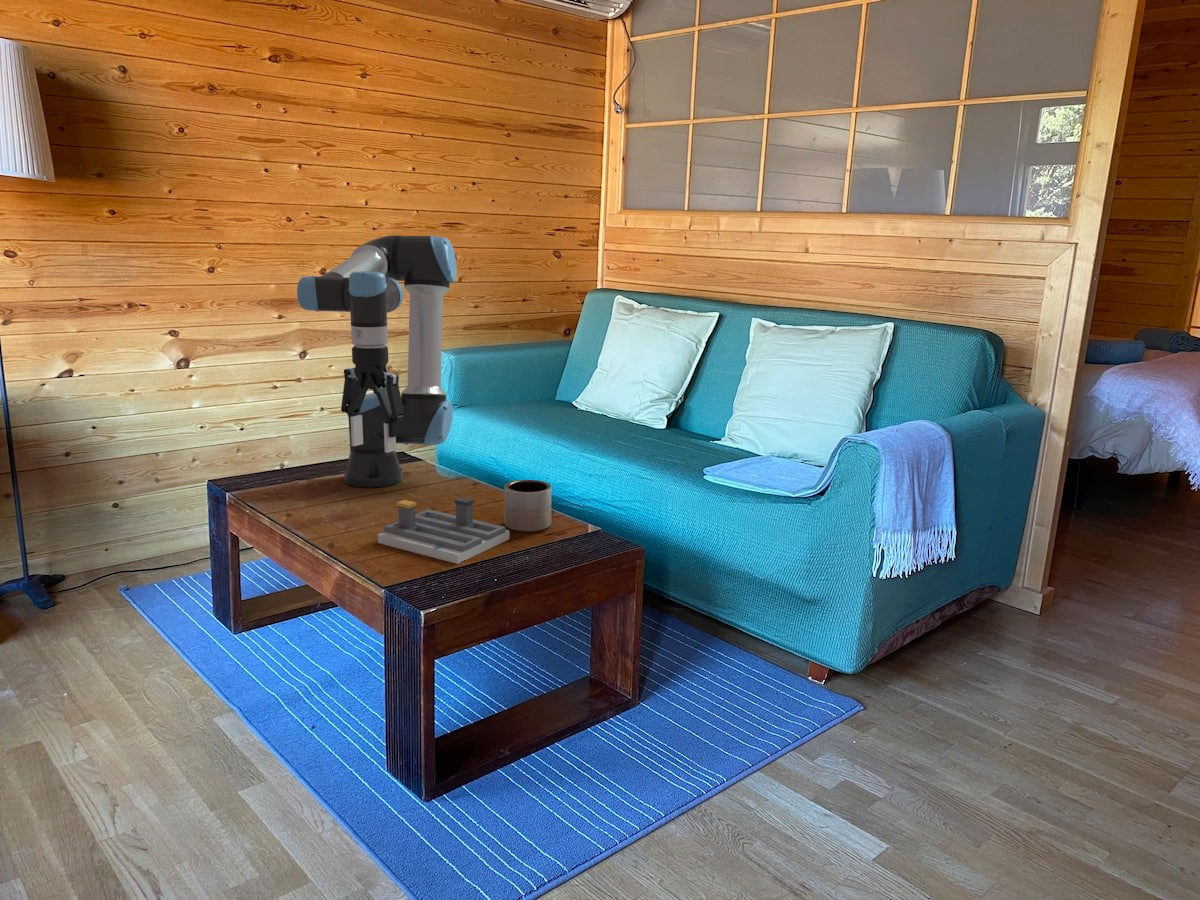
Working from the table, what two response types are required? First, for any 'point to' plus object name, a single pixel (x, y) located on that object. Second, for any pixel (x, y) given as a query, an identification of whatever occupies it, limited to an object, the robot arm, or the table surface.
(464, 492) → the table surface
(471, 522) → the fader
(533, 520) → the planter
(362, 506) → the table surface
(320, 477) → the table surface
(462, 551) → the console
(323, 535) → the table surface
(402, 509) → the fader
